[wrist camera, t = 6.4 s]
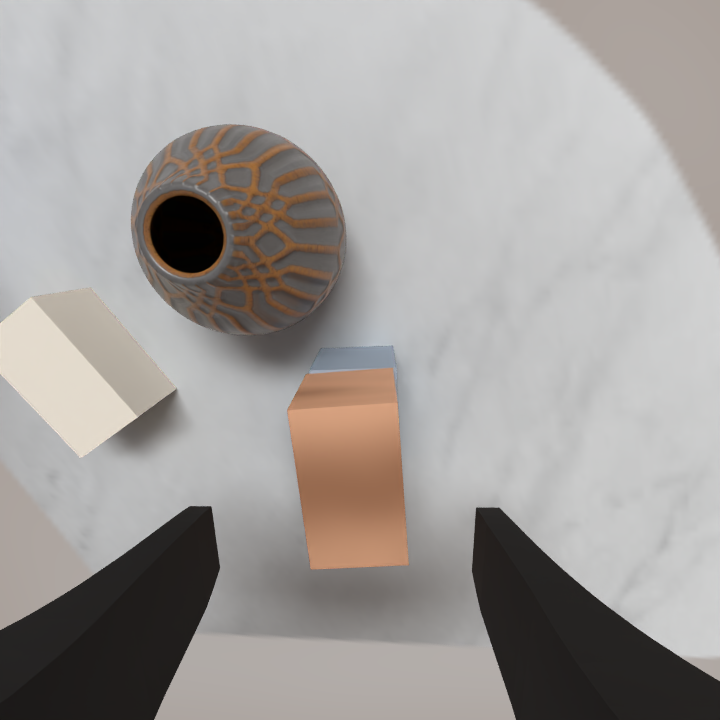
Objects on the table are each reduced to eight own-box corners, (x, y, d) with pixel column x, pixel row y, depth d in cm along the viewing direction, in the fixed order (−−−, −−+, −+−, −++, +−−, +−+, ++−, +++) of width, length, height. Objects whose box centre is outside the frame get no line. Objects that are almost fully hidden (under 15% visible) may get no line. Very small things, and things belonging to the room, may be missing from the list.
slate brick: (321, 347, 20) (309, 370, 16) (392, 345, 20) (396, 367, 16) (329, 460, 21) (320, 503, 18) (395, 459, 21) (399, 501, 18)
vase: (344, 323, 19) (319, 387, 11) (196, 307, 19) (55, 359, 11) (359, 160, 17) (342, 83, 9) (194, 143, 17) (22, 51, 9)
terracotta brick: (402, 501, 18) (408, 565, 14) (323, 505, 18) (310, 569, 14) (392, 367, 16) (397, 402, 13) (306, 374, 16) (287, 410, 13)
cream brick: (43, 327, 20) (-27, 345, 16) (92, 286, 19) (30, 296, 16) (129, 422, 21) (80, 458, 18) (178, 387, 21) (138, 417, 17)
